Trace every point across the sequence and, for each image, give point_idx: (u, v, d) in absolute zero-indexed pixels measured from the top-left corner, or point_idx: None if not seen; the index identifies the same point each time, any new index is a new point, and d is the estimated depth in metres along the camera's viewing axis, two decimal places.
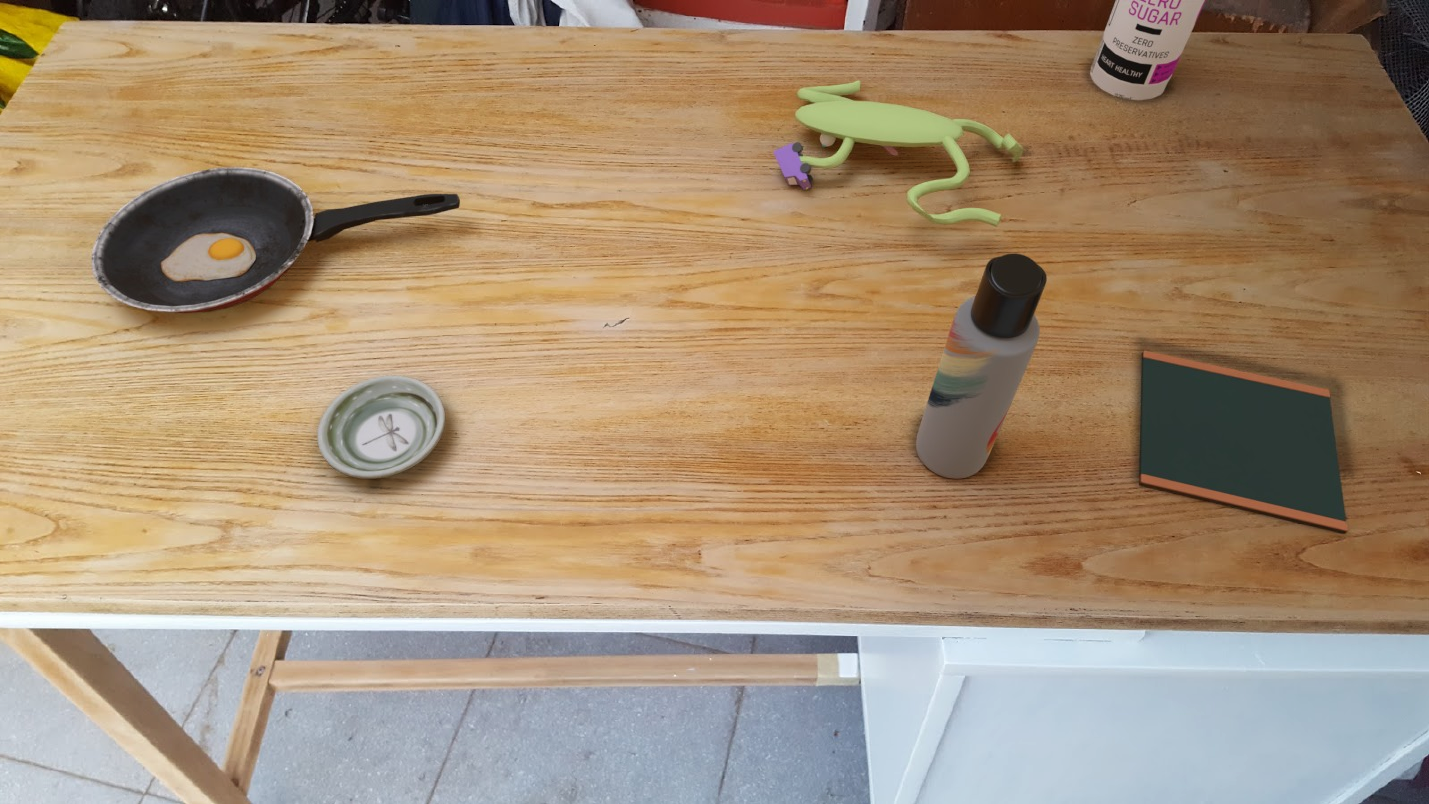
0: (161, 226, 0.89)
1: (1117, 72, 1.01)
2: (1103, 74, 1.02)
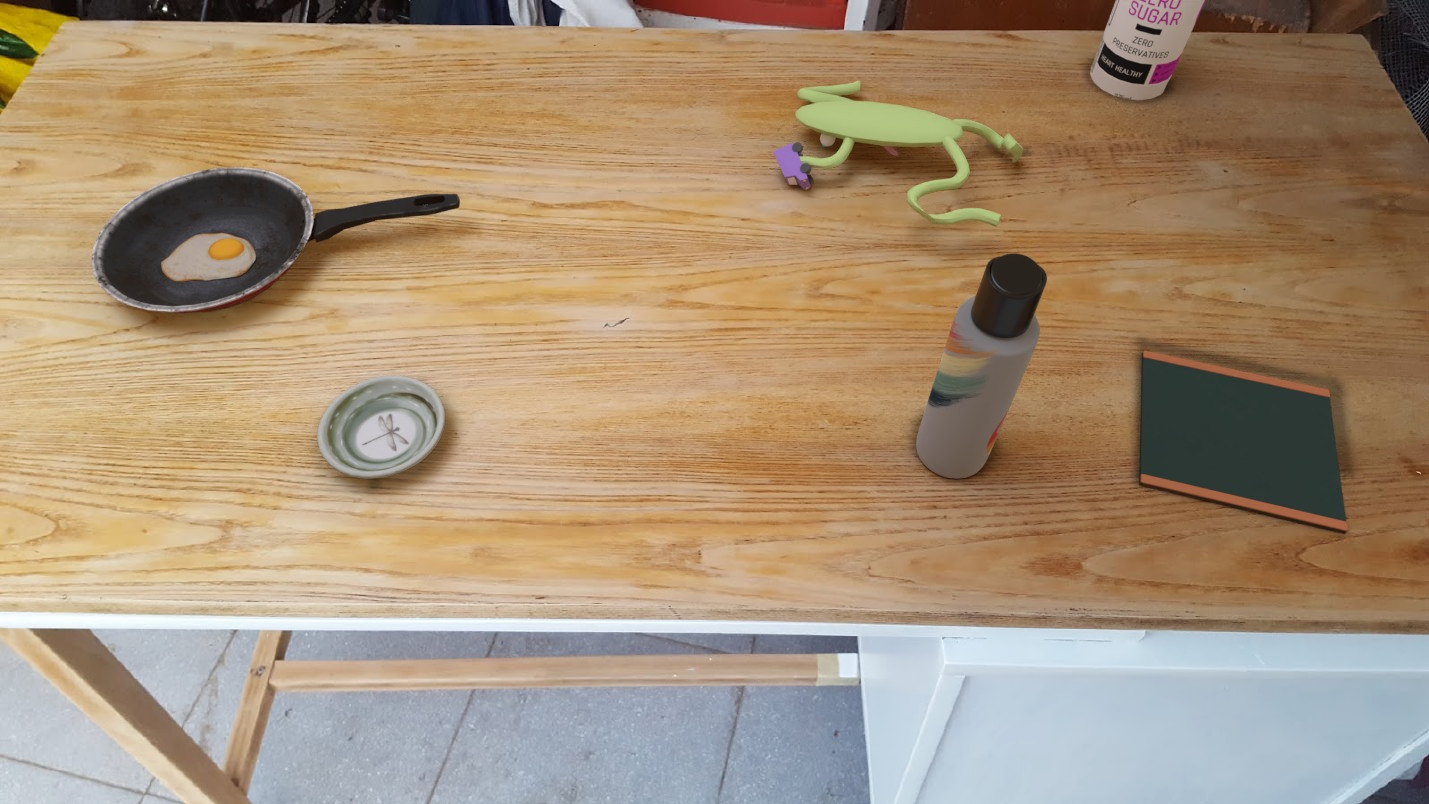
0: (161, 226, 0.89)
1: (1117, 72, 1.01)
2: (1103, 74, 1.02)
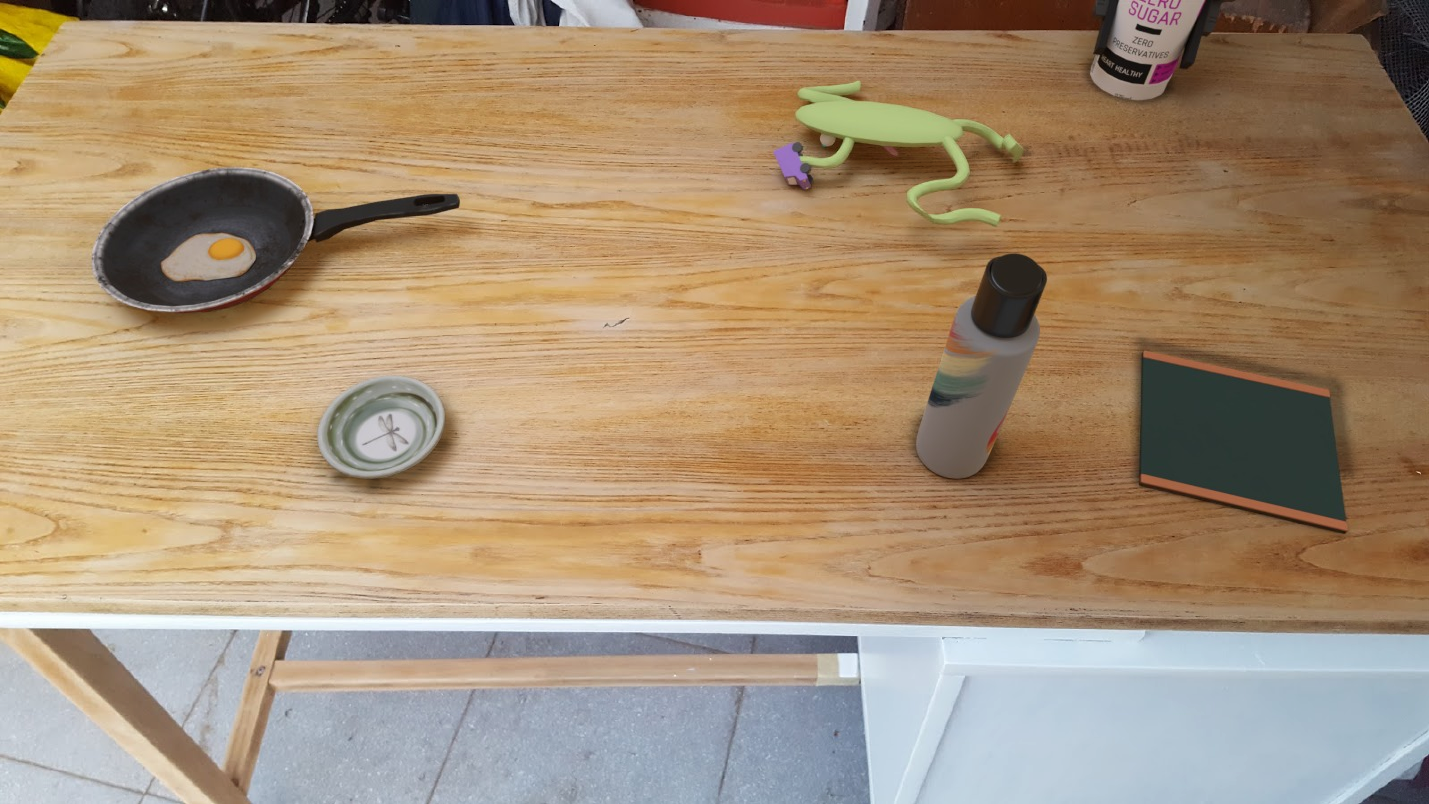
0: (161, 226, 0.89)
1: (1117, 72, 1.01)
2: (1103, 74, 1.02)
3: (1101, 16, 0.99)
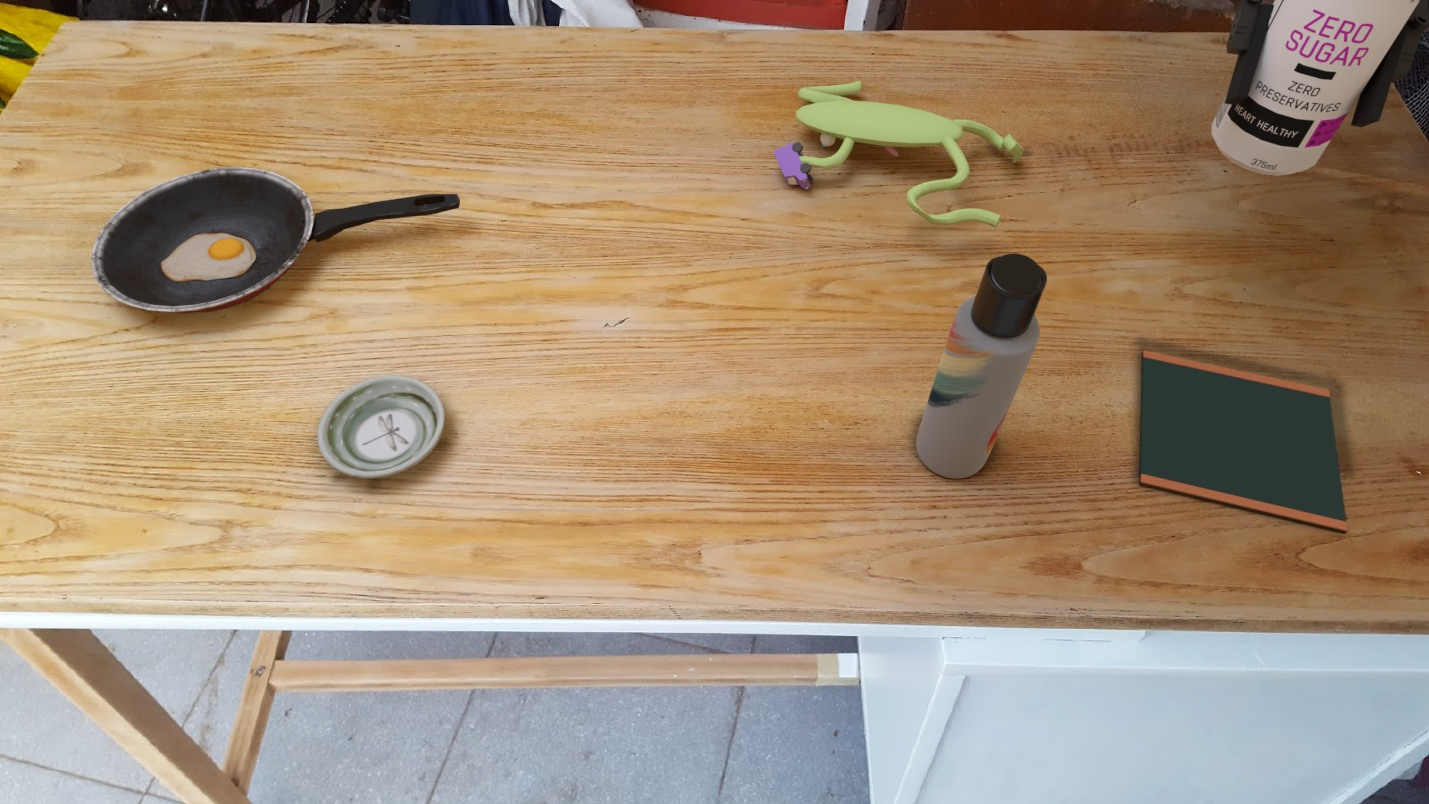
0: (161, 226, 0.89)
1: (1260, 130, 0.71)
2: (1236, 132, 0.72)
3: (1240, 50, 0.69)
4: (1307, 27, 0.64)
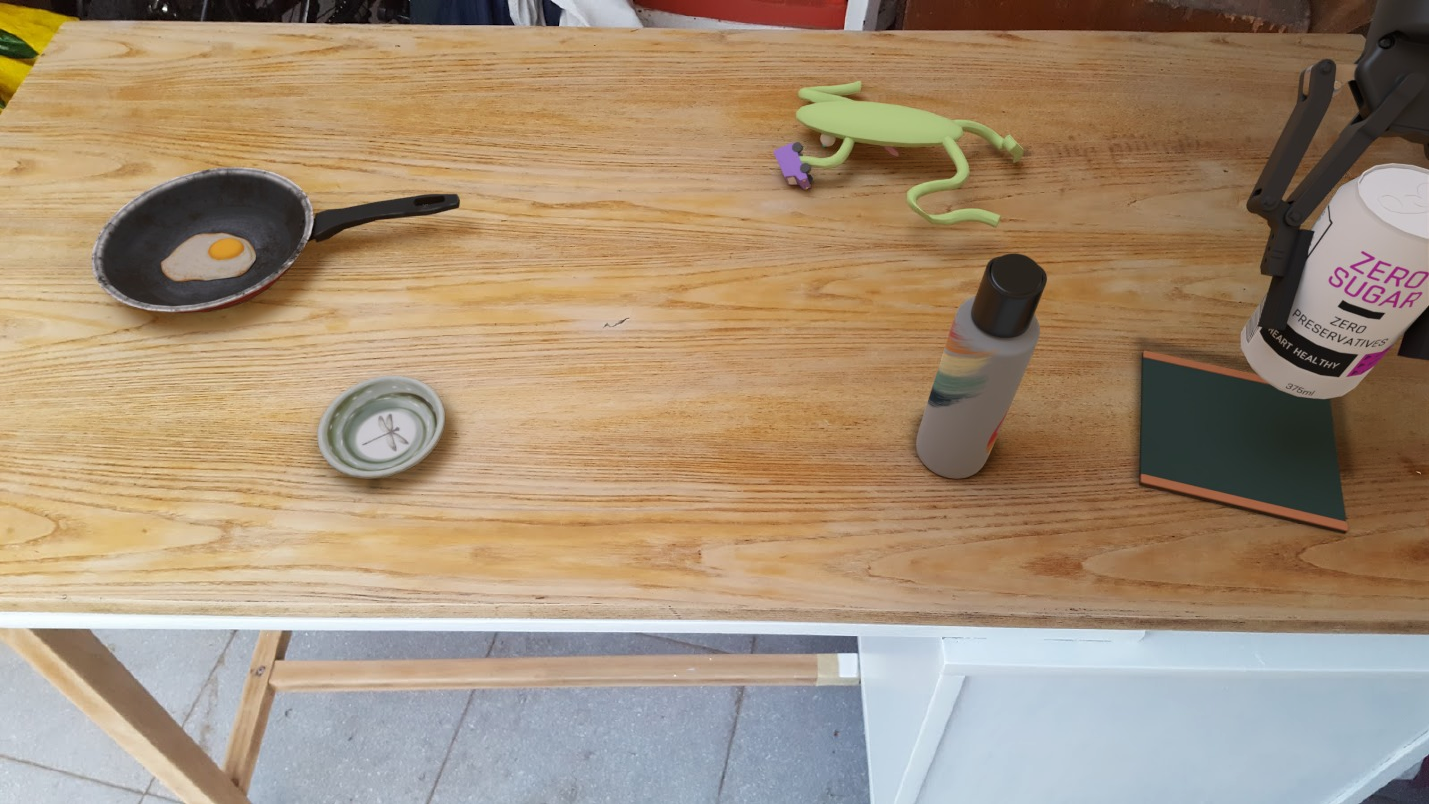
0: (161, 226, 0.89)
1: (1297, 357, 0.64)
2: (1270, 354, 0.66)
3: (1276, 275, 0.62)
4: (1353, 267, 0.58)
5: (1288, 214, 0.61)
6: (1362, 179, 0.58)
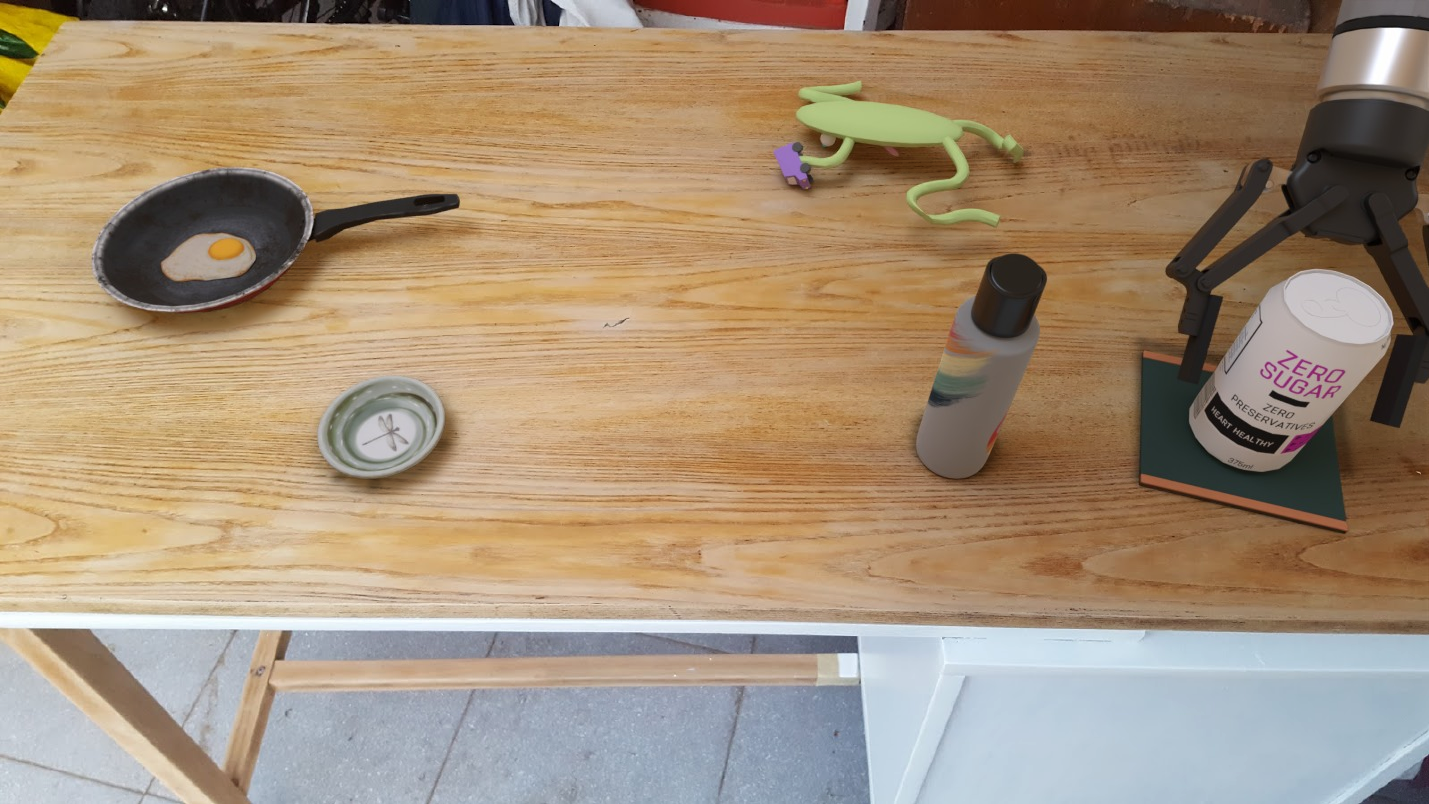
0: (161, 226, 0.89)
1: (1236, 436, 0.71)
2: (1213, 431, 0.73)
3: (1191, 335, 0.69)
4: (1280, 363, 0.65)
5: (1200, 279, 0.68)
6: (1288, 284, 0.66)
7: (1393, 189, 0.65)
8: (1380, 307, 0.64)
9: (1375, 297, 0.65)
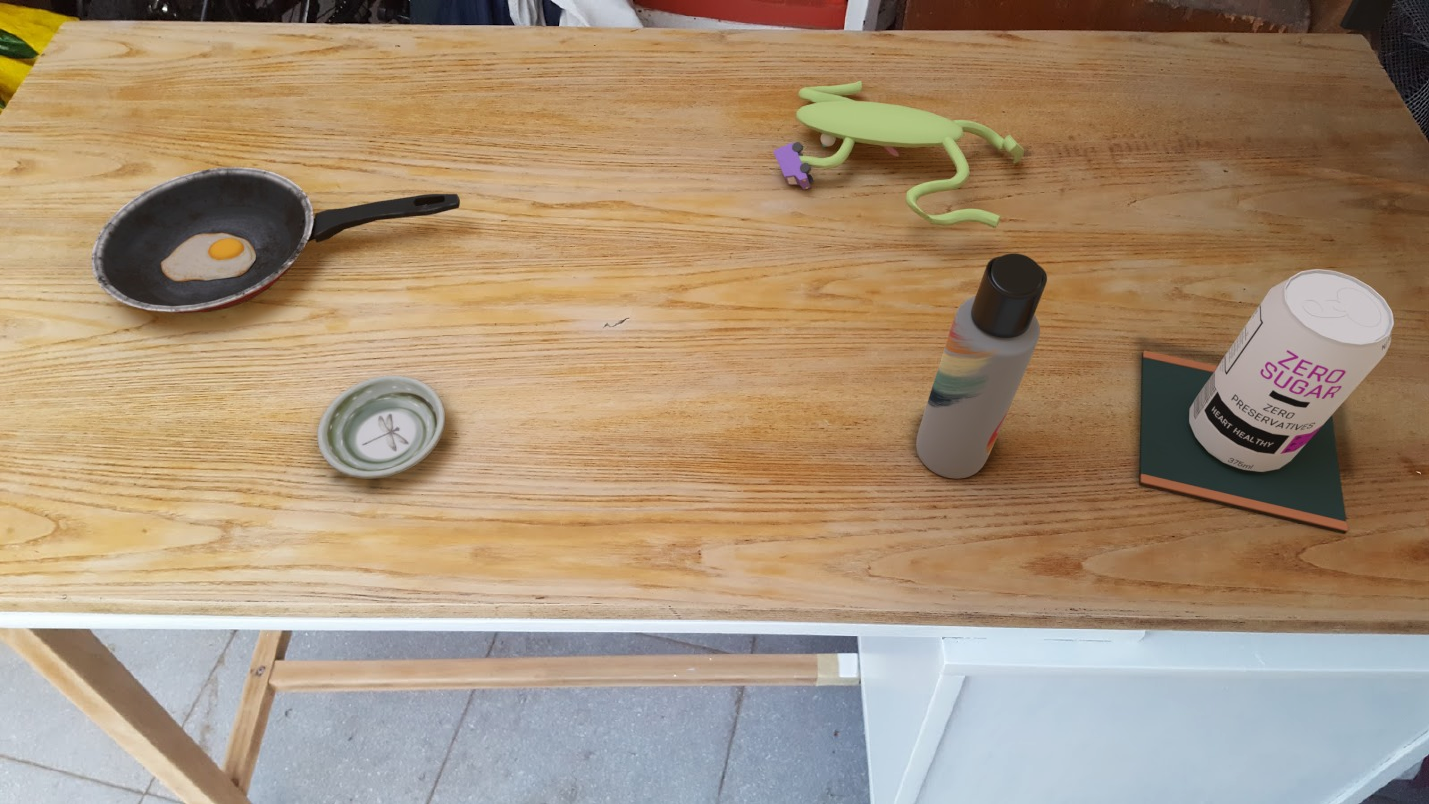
0: (161, 226, 0.89)
1: (1236, 436, 0.71)
2: (1213, 431, 0.73)
3: None
4: (1281, 363, 0.65)
5: None
6: (1289, 284, 0.66)
7: None
8: (1380, 307, 0.64)
9: (1375, 297, 0.65)
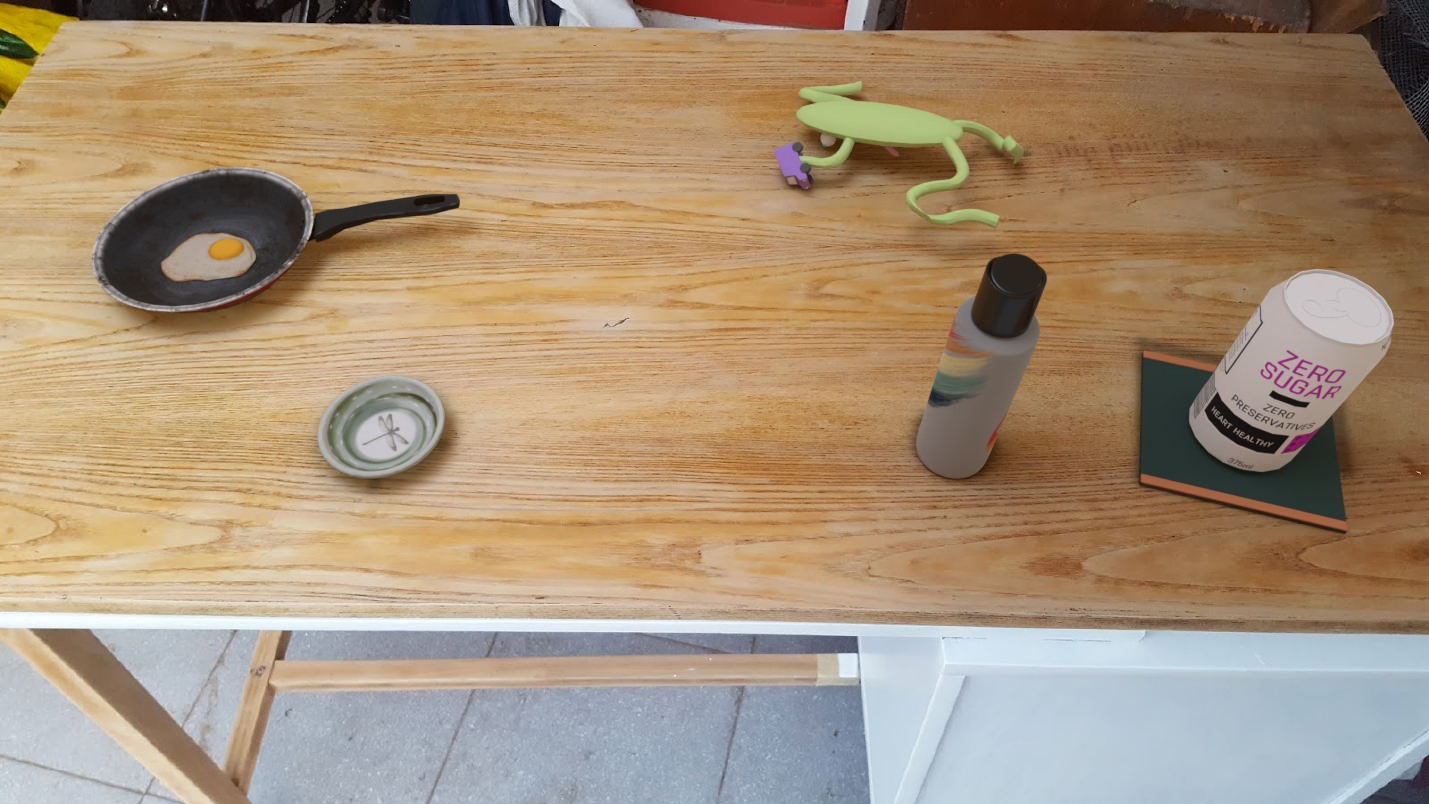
0: (161, 226, 0.89)
1: (1236, 436, 0.71)
2: (1213, 431, 0.73)
3: None
4: (1281, 363, 0.65)
5: None
6: (1289, 284, 0.66)
7: None
8: (1380, 307, 0.64)
9: (1375, 297, 0.65)
